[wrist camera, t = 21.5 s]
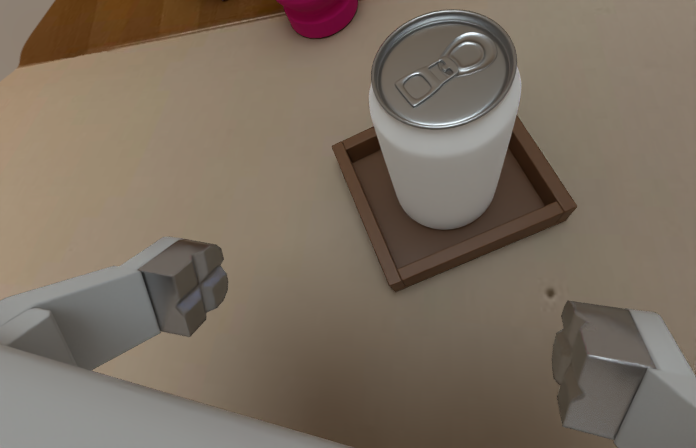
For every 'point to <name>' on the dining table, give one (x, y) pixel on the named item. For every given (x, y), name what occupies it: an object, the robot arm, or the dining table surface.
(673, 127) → the dining table surface
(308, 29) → the pepper mill
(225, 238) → the dining table surface
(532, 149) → the tray
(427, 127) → the can
